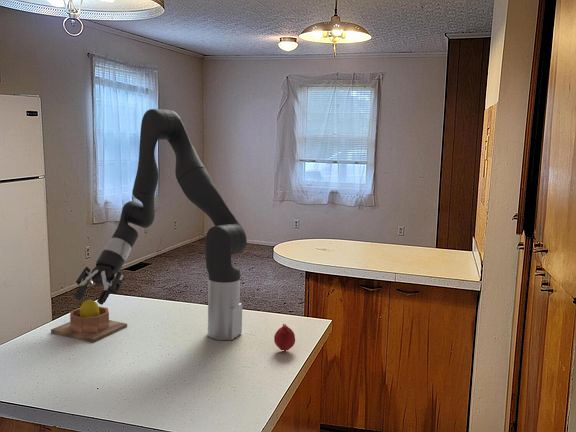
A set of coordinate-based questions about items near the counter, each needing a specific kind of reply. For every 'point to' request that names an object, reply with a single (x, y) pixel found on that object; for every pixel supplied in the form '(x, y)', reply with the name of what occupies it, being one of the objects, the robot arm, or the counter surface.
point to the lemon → (89, 309)
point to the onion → (284, 338)
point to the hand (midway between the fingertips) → (88, 301)
